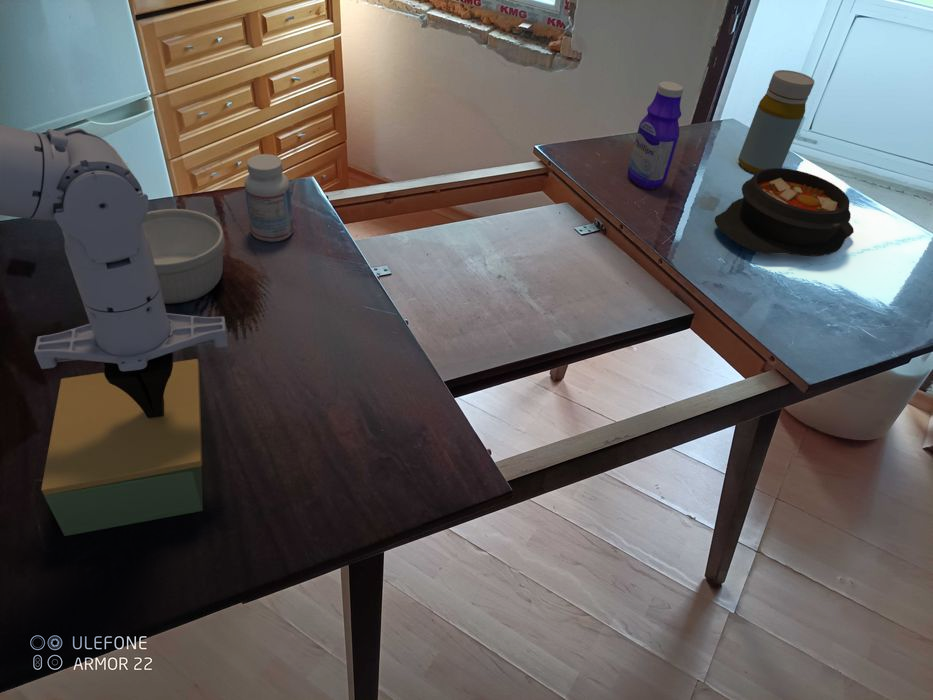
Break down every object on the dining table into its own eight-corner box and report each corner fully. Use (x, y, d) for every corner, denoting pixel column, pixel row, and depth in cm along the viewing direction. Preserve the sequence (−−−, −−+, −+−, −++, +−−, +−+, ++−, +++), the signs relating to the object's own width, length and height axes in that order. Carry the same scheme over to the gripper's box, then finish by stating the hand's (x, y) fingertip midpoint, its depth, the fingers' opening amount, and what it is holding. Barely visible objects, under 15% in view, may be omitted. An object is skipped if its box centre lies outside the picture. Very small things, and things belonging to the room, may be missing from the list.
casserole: (767, 279, 103) (789, 231, 98) (686, 218, 115) (702, 172, 110) (875, 250, 113) (901, 205, 107) (790, 197, 125) (810, 154, 120)
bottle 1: (619, 175, 125) (644, 79, 114) (643, 170, 128) (670, 76, 116) (645, 193, 121) (673, 95, 109) (669, 188, 123) (699, 92, 112)
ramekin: (242, 257, 95) (235, 213, 91) (213, 315, 85) (204, 269, 81) (145, 248, 95) (133, 203, 90) (104, 306, 85) (89, 259, 80)
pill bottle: (266, 217, 103) (258, 147, 96) (301, 228, 102) (296, 158, 95) (242, 236, 99) (231, 164, 92) (278, 247, 98) (271, 175, 90)
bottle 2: (728, 163, 134) (762, 73, 122) (751, 154, 138) (785, 66, 127) (764, 180, 129) (802, 88, 118) (787, 171, 134) (826, 81, 122)
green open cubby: (199, 408, 73) (190, 368, 70) (202, 510, 64) (192, 471, 60) (80, 425, 70) (63, 384, 66) (64, 536, 61) (43, 496, 57)
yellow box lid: (199, 364, 70) (197, 358, 69) (202, 466, 60) (200, 460, 60) (63, 384, 66) (60, 378, 66) (44, 496, 57) (40, 490, 56)
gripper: (7, 333, 49) (62, 455, 58) (219, 311, 53) (240, 428, 62) (23, 277, 54) (72, 398, 63) (216, 260, 58) (236, 376, 67)
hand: (156, 409), depth 63 cm, fingers closed
